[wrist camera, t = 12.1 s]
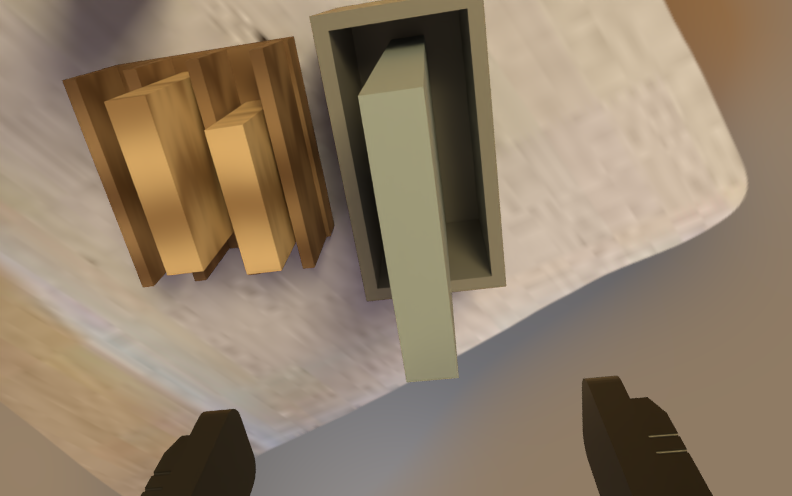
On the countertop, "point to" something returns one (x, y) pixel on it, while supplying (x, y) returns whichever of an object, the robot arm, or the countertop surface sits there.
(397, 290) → the tall sheet
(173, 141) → the oak offcut
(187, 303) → the countertop surface
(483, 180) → the bin
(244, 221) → the beech offcut
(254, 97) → the rack
